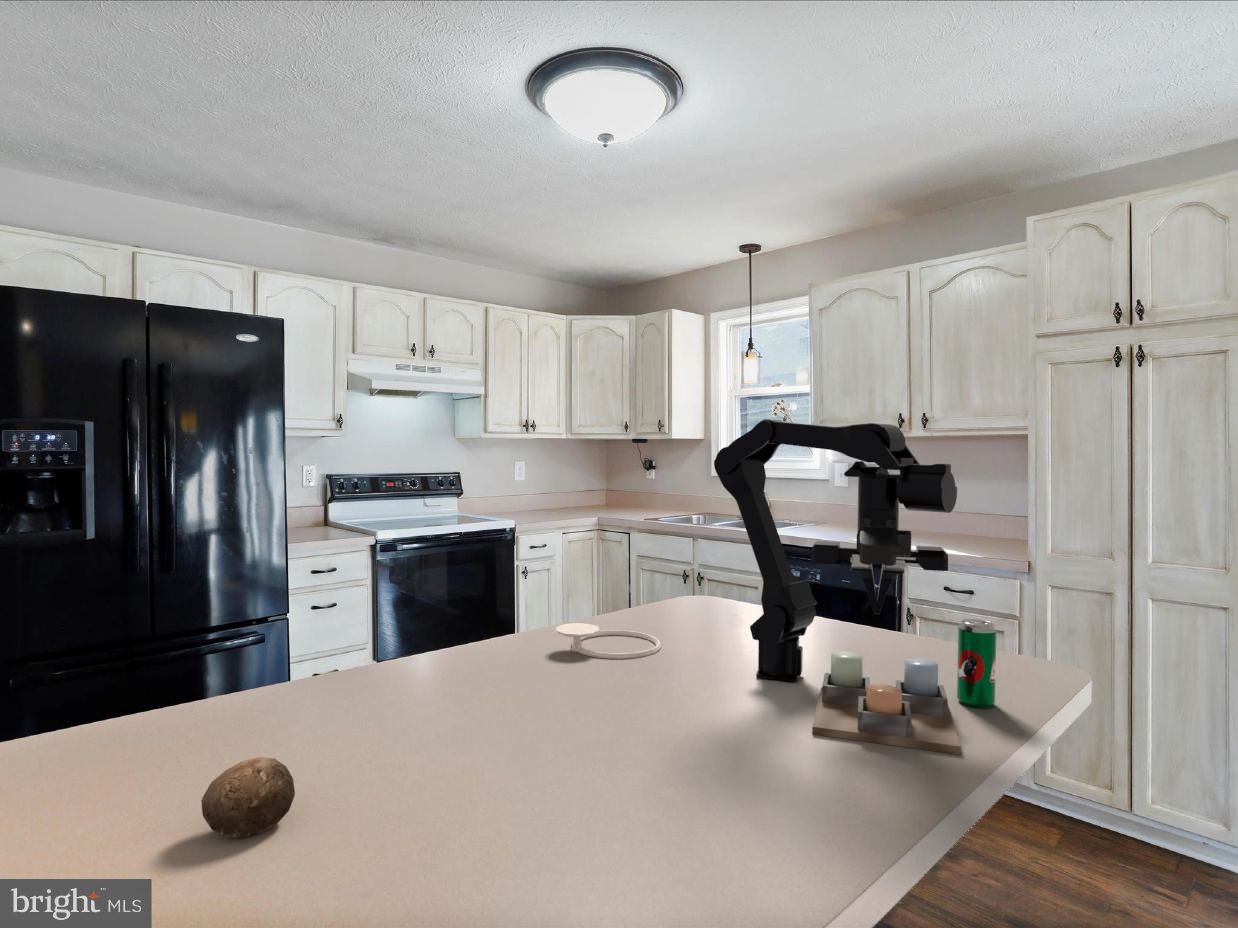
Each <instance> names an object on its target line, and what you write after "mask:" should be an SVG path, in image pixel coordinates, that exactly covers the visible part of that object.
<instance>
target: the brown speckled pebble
mask: <svg viewBox="0 0 1238 928" xmlns="http://www.w3.org/2000/svg"><path fill="white" fill-rule="evenodd" d="M294 783H295V781H294V777H293V776H292V774H291V772H290V771H289V769H288V767H287V766H286V765H284V764H283V763H282V762H280V761H279V760H277V759H276V758H274V757H273V758H272V757H265V756H264V757H262V756H258V757H254V758H250V759H246V760H242V761H240V762H238V763H236V764H235V765H233V766H231V767H229V768H227V769H226V770H224V771H223V772H222V773H221V774H220V775H219V776H217V777H216V778H214V779H213V780H212V781H211V782H210V784H209V785H208V787H207V788H206V791H205V792H204V795H203V796H202V799H201V800H200V801H201V810H202V811H201V813H202V817H203V818H204V820H205V822H206V823H207V824H208V826H209V828H210V829H211V830H212V831H214V832H216V833H217V834H220V835H221V836H224V837H227V838H242V839H243V838H247V837H250V836H254V835H257V834H261V833H263V832H265V831H267V830H269V829H272V828H273V827H275V826H276V825H277V824H279V822H280V821H281V820H282V819H283V818H284V817H285V816H286V815H287V814H288V812H289V811H290V809H291V806H292V805H293V804H292V803H293V801H294V798H295V797H296V795H295V794H296V791H295V784H294Z"/></svg>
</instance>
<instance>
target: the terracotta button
mask: <svg viewBox="0 0 1238 928" xmlns="http://www.w3.org/2000/svg"><path fill="white" fill-rule="evenodd" d="M866 711H868V712H876V713H884V714H892V715H900V716H902V690H901V689H899V688H897V687H896V686H893V685H888V684H884V683H883V684H881V683H875V684H874V683H873V684H870V685H869V686H867V691H866Z"/></svg>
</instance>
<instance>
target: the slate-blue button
mask: <svg viewBox="0 0 1238 928" xmlns="http://www.w3.org/2000/svg"><path fill="white" fill-rule="evenodd" d="M903 664H904V665H903V667H904V668H903V669H904V670H903V671H904V672H903V681H904V690H905V691H906V692H907V693H910V694H913V695H920V696H935V695H937V694H938V685H939V664H938V662H936V661H933V660H929V659H924V658H918V657H917V658H907V659H905V660H904V663H903Z"/></svg>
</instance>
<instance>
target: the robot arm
mask: <svg viewBox="0 0 1238 928" xmlns="http://www.w3.org/2000/svg"><path fill="white" fill-rule="evenodd" d="M781 445H787V446H793V447H795V446H796V447H805V448H811V449H812V448H813V449H821V450H831V451H833V452H838V453H840V454H842V455H844V456H847V457H849V458H852V459H855V460H858V461H854V463H853V464H852V465H851V466H850V467H849V468H848V469H847V470H846V471H844V473H843V476H844V477H845V478H846V477H847V478H858V479H857V481H858V482H857V483H858V485H857V533H856V547H844V546H843V547H842V546H841V545H840V544H841V543H840V541H827V540H825V541H824V540H816V542H814V543H813V545H812V546H811V548H810V549H811V551H810V563H811V564H814V565H815V564H819V565H834V564H835V563H836V562H837V561H838V560H846V561H850V563H851V565H850V571H852V572H857V573H858V574H859V577H860V578H861V580H862V582H863V584H864V587H865V589H866V592H867V596H868V599H869V603H870V606H871V609H872V612H873V614H874V615H880V614H881V611H882V608H883V605H884V602H885V599H886V597H887V594H888V591H889V589H890V586H891V585H892V583H893V582H894V580H895V578H896V576H897V575H904V574H905V567H904V566H906V564H917V565H919V566H920V567H921V568H922V569H923V570H924V571H936V572H947V571H949V554H948V553H947V551H946V550H945V549H944V548H943V547H942V546H929V545H927V546H926V545H916V546H915V548H916V549H915V550H912V531H911V530H902V529H901V530H900V529H899V528H900V527H899V523H900V521H899V516H900V515H899V513H900V511H899V510H900V509H899V508H900V505H903V506H904V508H905V509H906V510H908V511H915V512H916V511H917V512H930V513H945V514H950V513H952V512H953V510H954V509H955V506H956V503H957V498H958V486H956V481H955V478H954V477H955V476H954V474H953V473H952V465H951V464H950V463H934V464H920V462H919V461H918V460H917V458H916V457H915V456H914V454H913V453H912V452H911V450H910V449H909V448H908V446H907V445H906V438H905V434H904V433H903V431H901V429H900V427H898V426H896V425H893V424H888V423H877V422H872V423H871V422H870V423H859V424H858V423H857V424H856V423H855V424H849V425H843V426H842V425H841V426H832V425H831V426H829V425H820V424H819V425H818V424H809V423H800V422H799V423H798V422H787V421H783V420H781V419H769V418H768V419H767V418H766V419H763V420H761V421H759V422H757V424H755V426H754V427H753V428H752V429H750V430H749V431H747V432H745V433H744V434H742V435H741V436H739V437H737V438H736V439H734V440H733V441H732V442H731V443H730V444H729V445H728V446H725V447H722V448H721V449H720V450H719V451H718V452H717V454H716V457H715V459H714V460H713V466H714V467H713V468H714V470H715V473H716V475H717V477H718V479H719V480H720V483H721V485H722V486H723V488H724V489H725V490H726V491H727V492H728V493H729V494H730V495H731V496H732V498H733V499H734V500H735V502H736V505H737V507H738V509H739V513H740V516H741V519H742V522H743V524H744V528H745V530H746V533H747V536H748V539H749V542H750V546H751V550H752V552H753V554H754V557H755V560H756V564H757V567H758V569H759V572H760V576H761V578H762V591H761V599H760V603H761V608H762V615H761V616H760V617H758V618H757V619H756V620H755V621H754V622H753V623H752V624H751V625H750V626H749V629H750V632H751V633H750V634H751V636H752V639H753V641H758V652H757V653H758V654H757V655H758V661H757V662H758V664H757V672H756V673H755V677H756V678H759V679H768V680H774V681H777V680H778V681H787V682H793V683H794V682H795V683H796V682H797V681H798V679H799V677H800V676H801V675H802V672H803V650H804V649H803V646H802V645H801V646H800V637H802V636H805V634H806V632H807V630H808V627H809V626H810V625H811V624H812V623H813V622H814V620H815V617H816V614H817V609H816V605H817V604H818V601H817V600H816V598H814V595H813V593H812V588H811V585H810V582H809V580H807V579H805V580H799V579H798V578H797V577H796V575H794V574H793V571H792V570H791V567H790V564H789V560H788V559H787V555H786V553H785V549H784V546H783V543H782V541H781V538H780V535H779V532H778V529H777V526H776V524H775V520H774V518H773V515H772V512H771V509H770V506H769V503H768V501H767V498H766V493H765V485H766V480H767V479H766V478H767V475H766V468H765V464H767V463H768V462H769V461H770V460H771V459H772V458H773V456H775V454H776V451H777V450H778V448H779V447H780V446H781ZM866 463H874V464H876V465H877V466H871V465H869V466H868V465H866ZM889 470H890V471H899V473H890V472H889ZM873 565H881V571H880V577H879V582H878V583H879V584H878V591H877V594H876V586H875V577H874V571H873V570H874V569H873Z"/></svg>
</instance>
